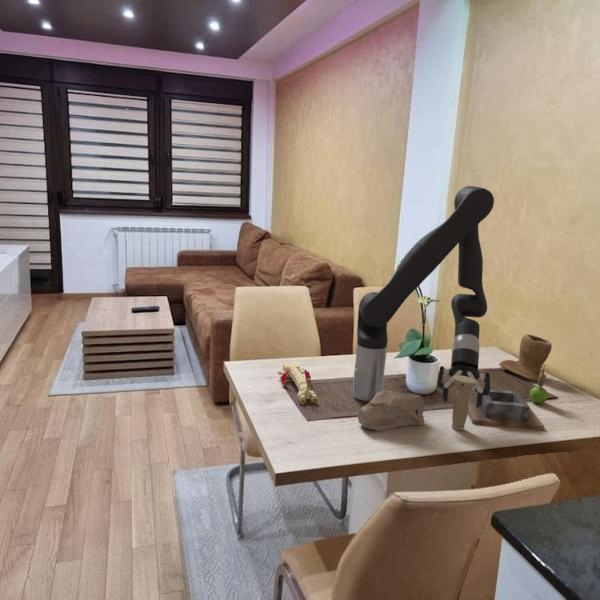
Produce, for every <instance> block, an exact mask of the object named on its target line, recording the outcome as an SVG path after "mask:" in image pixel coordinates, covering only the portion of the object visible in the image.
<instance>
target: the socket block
mask: <svg viewBox="0 0 600 600" xmlns="http://www.w3.org/2000/svg"><path fill="white" fill-rule="evenodd" d="M481 388H482V387H481ZM483 389H484V387H483V388H482V390H483ZM467 416H468V418H469V419H470V422H471V423H472V424H473V425H483V426H494V427H495V426H496V427H504V428H505V427H507V428H515V429H516V428H517V429H527V430H539V431H544V429H545V425H544V424H543V422H541V420H540V419H539V417H538V416H537V415H536V414H535V412H534V411H533V410H532V408H531V407H530V406H529V404H528V402H526V400H525V399H524V398H523V397H522V395H521V394H520V392H519V391H514V390H505V389H495V388H490V392H489V395H483V397H482V405H481V407H479V409H478V408H476V397H469V401H468V413H467Z"/></svg>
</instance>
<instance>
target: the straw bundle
mask: <svg viewBox="0 0 600 600" xmlns="http://www.w3.org/2000/svg"><path fill="white" fill-rule="evenodd" d="M303 374H304V375H303ZM277 375H279V376H280V382H282V384H284V385H285V386H287V385H288V383H287V382H286V381H287V379H292V381H293V382H294V383H295V386H296V387H297V390H298V392H297V395H296V396H297V398H298V403H299V404H301V403H304V404H306V403H307V400H309V401H310V403H312V402H316V403H318V402H319V399H318V397H317V395H316V393H315V392H314V390H311V389H312V379H311V378H312V377H311V375H310V371H308V369H307V370H306V369H304V368H302V369H301V367H300V365H299V363H298V362H284V363H283V365H282V370H278V371H277ZM304 376H305V377H304ZM306 399H307V400H306Z"/></svg>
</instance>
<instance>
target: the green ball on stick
mask: <svg viewBox="0 0 600 600" xmlns="http://www.w3.org/2000/svg"><path fill="white" fill-rule="evenodd" d="M541 366H542V367H541V370H540V375H539V378H538V380H537V386H534V387H532V388H531V389H530V391H529V395H528V396H529V399H530V400H531V401H532V402H533V403H535V404H538V405H540V404H541V405H542V404H544V403H546V402H547V401H548V398H549V394H548V391H547V390H546V389H545V388H544V387H543V386H544V381H545V378H544V374H545V367H546V365H545V364H542V365H541Z"/></svg>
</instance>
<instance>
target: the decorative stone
mask: <svg viewBox="0 0 600 600" xmlns="http://www.w3.org/2000/svg"><path fill="white" fill-rule="evenodd" d="M424 410H425V400H424V398H423V396H421V395H418V394H414V393H408V392H401V391H393V390H383V391H381V392H377V393H376V395H375V396H374V398H373V399H372V401H370V402H368V403H367V404H365V405H364V406H362V407H360V408H359V409H358V413H357V419H358V423H359V424H360V425H362V427H363V428H365V429H368V430H374V431H377V432H383V431H388V430H392V429H394V428H399V427H402V428H403V427H406V426H421V425H423V424H424V423H425V419H424V418H425V417H424V416H423V415H424V414H423V413H424Z"/></svg>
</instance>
